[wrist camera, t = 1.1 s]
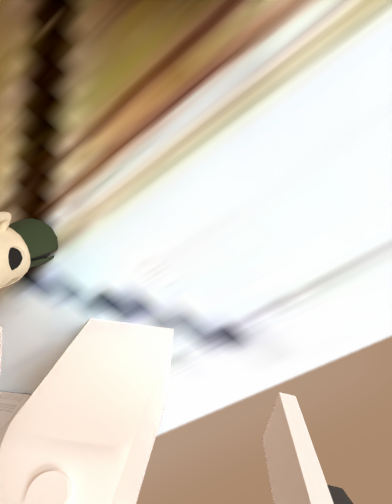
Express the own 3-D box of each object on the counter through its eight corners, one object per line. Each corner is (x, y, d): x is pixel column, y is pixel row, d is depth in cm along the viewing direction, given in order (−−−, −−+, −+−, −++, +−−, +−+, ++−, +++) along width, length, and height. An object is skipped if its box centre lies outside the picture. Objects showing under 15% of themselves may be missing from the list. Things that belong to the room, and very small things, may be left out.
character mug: (46, 286, 41) (-28, 333, 29) (0, 261, 41) (-97, 298, 28) (76, 218, 39) (9, 237, 26) (27, 191, 38) (-66, 197, 26)
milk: (89, 387, 45) (-74, 653, 20) (90, 318, 42) (-98, 525, 17) (167, 397, 44) (103, 684, 19) (173, 329, 42) (109, 558, 16)
